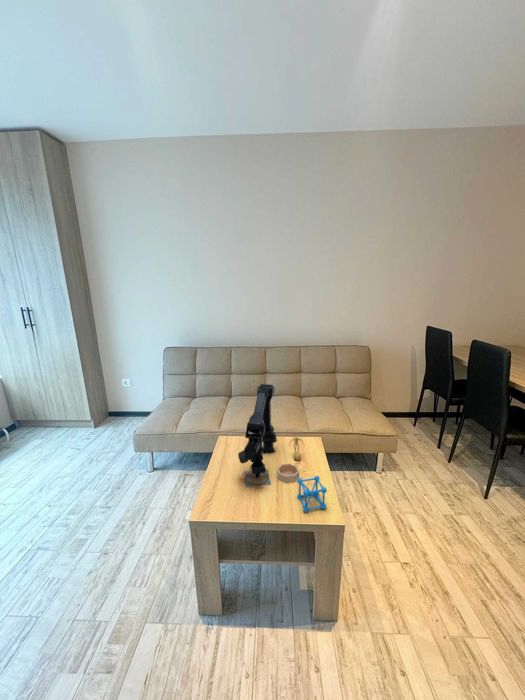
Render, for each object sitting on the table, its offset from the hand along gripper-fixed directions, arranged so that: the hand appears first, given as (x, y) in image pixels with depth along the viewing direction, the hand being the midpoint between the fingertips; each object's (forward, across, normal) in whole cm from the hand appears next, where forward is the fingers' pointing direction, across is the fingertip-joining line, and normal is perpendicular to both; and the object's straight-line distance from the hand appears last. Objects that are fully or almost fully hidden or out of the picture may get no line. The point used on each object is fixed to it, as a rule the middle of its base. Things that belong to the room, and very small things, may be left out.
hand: (256, 475), depth 144 cm
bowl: (+2, +1, +15) cm, 15 cm away
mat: (+2, 0, 0) cm, 2 cm away
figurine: (+2, -14, +23) cm, 27 cm away
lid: (+1, 0, 0) cm, 1 cm away
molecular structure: (+2, +20, +21) cm, 29 cm away
